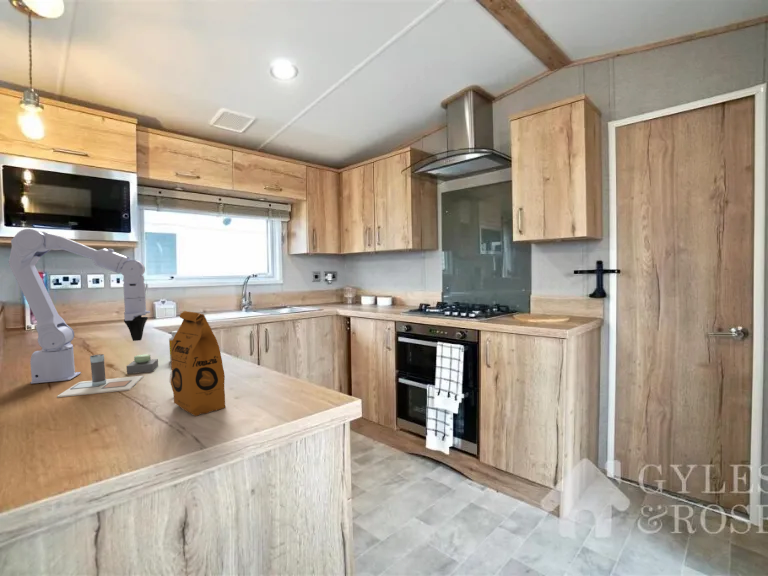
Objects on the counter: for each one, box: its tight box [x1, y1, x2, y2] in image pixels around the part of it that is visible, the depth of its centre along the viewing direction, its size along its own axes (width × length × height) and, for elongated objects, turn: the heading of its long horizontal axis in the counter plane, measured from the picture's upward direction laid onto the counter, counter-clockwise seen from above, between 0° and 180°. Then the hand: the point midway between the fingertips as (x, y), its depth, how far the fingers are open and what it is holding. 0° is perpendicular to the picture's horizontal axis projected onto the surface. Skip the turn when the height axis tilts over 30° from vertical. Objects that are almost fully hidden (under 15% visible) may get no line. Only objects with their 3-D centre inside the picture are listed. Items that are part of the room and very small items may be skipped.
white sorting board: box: [56, 375, 145, 398], centre depth 108 cm, size 16×13×1 cm
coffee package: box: [170, 310, 226, 417], centre depth 89 cm, size 10×12×22 cm
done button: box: [133, 353, 152, 363], centre depth 124 cm, size 4×4×4 cm
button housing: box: [126, 358, 159, 375], centre depth 124 cm, size 7×7×2 cm
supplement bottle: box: [168, 330, 178, 361], centre depth 137 cm, size 6×6×10 cm
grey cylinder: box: [89, 353, 107, 386], centre depth 108 cm, size 3×3×8 cm
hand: (137, 340), depth 124 cm, fingers closed
